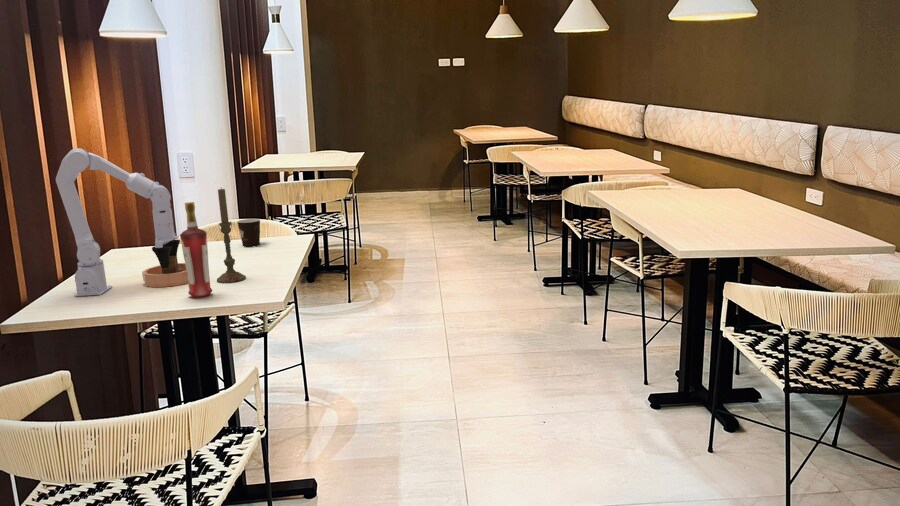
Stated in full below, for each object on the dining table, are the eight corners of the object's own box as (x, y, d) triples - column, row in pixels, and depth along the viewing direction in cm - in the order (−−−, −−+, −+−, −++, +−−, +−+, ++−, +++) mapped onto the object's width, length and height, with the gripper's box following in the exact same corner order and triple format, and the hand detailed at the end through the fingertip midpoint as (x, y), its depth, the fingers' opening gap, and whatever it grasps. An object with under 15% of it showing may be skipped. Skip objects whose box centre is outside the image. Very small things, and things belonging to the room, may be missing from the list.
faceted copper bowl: (189, 285, 229) (187, 273, 228) (137, 288, 228) (135, 276, 227) (202, 273, 244) (201, 261, 243) (154, 276, 243) (152, 264, 243)
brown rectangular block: (177, 278, 235) (174, 257, 233) (163, 279, 235) (160, 258, 233) (179, 276, 237) (176, 255, 236) (165, 277, 237) (162, 256, 235)
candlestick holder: (216, 284, 229) (205, 189, 222) (217, 277, 237) (206, 186, 231) (246, 281, 231) (236, 187, 225) (246, 274, 240) (236, 184, 233)
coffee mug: (239, 244, 290) (237, 219, 288) (261, 242, 292) (259, 217, 290) (240, 250, 279) (237, 224, 277) (263, 247, 282) (261, 222, 279)
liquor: (186, 294, 218) (175, 202, 212) (212, 291, 221) (201, 200, 215) (188, 300, 212) (176, 205, 206) (215, 296, 215) (203, 203, 209)
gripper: (169, 227, 225) (174, 269, 228) (183, 219, 239) (187, 259, 242) (146, 228, 225) (151, 271, 228) (161, 220, 239) (166, 260, 242)
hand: (168, 265), depth 235 cm, fingers open, 7 cm apart
